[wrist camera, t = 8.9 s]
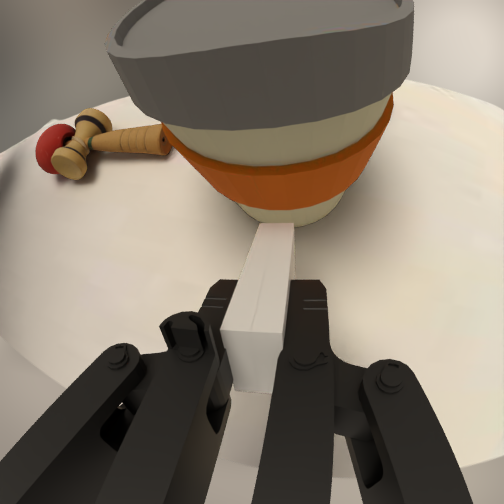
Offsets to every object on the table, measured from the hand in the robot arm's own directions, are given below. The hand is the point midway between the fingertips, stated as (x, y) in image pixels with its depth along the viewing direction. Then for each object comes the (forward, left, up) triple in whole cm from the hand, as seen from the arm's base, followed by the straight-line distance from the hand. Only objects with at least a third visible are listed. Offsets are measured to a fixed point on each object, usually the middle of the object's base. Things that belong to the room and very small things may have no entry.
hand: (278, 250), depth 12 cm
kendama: (-19, +13, -6) cm, 24 cm away
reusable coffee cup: (0, +8, -6) cm, 10 cm away
